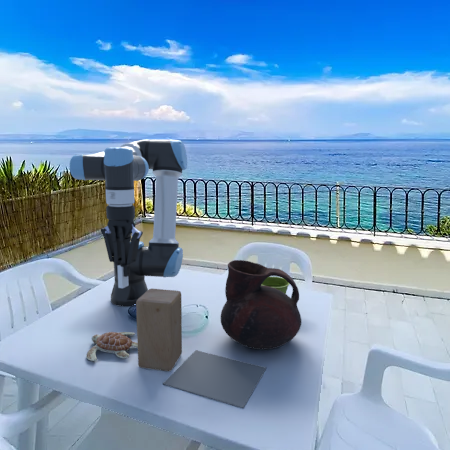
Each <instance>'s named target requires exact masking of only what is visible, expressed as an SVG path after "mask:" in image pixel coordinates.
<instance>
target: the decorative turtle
mask: <svg viewBox="0 0 450 450" xmlns="http://www.w3.org/2000/svg"><path fill="white" fill-rule="evenodd" d="M135 335H136V333H135V332H133V331H132V332H130V331H120V332H117V331H116V332H114V331H107V332H105V333H103V334H94V335H92V336H91V341H92V342H93V343H94V344H95V345H94V346H92V347H91V348H90V349H89V350H88V351H87V352H86V355H85V357H86V359H87V360H88V361H91V362H96V361H97V360H98V357H97V355H96V354H97V351H98V350H99V351H101V352H104V353H109V354H114V355H116V357H118V358H121V359H126V358H129V356H130V354H129V353H128V352H127V351H130V348H131V347H134V348H136V349H138V343H137V341H132V339H131V338H130V337H128V336H135Z"/></svg>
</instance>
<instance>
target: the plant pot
mask: <svg viewBox="0 0 450 450" xmlns="http://www.w3.org/2000/svg"><path fill="white" fill-rule="evenodd" d="M261 285H263V286H269V287H273V288H276V289H278V290H280V291H282V292H283V293H285V294H286V295H287V290H288V287H289V286H290V284H289V283H288V282H287V281H286V280H285V279H284V278H282V277H279V276H270V277H267V278H266V279H265V280H264V282H263V283H262V284H261Z"/></svg>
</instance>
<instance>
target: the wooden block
mask: <svg viewBox="0 0 450 450" xmlns="http://www.w3.org/2000/svg"><path fill="white" fill-rule="evenodd" d="M135 311H136V314H135V315H136V334H137V335H136V336H137V337H136V338H137V341H136V342H137V343H138V348H137V365H138V367H139V368H141V369H148V370H157V371H162V372H163V371H164V372H171V371H173V369H174V367H175V365H176V364H177V362H178V361H179V359H180V358H181V355H182V353H183V341H182V340H183V338H182V337H183V331H182V330H183V329H182V328H183V327H182V326H183V325H182V323H183V322H182V319H183V317H182V315H183V314H182V313H183V312H182V292H181V291H179V290H174V289H173V290H171V289H164V288H163V289H161V288H149V289H148V291H147V292H145V293H144V294H143V295H142V296H141V297H140V298H139V299H137V301H136V306H135Z"/></svg>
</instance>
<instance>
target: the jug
mask: <svg viewBox="0 0 450 450" xmlns="http://www.w3.org/2000/svg"><path fill="white" fill-rule="evenodd" d="M227 269H228V271H227V272H228V273H227V278H226V282H225V289H224V291H225V299H226V302H225V303H224V305H223V306H222V310H221V312H220V313H221V314H220V324H221V327H222V329H223V330H224V332H225V334H226V335H227V336H228V337H229V338H231V339H232V340H233V341H234V342H236V343H237V344H240V345H242V346H244V347H247V348H250V349H254V350H271V349H275V348H277V349H278V348H279V347H282V346H284V345H286V344H287V343H289V342H291V341H292V340H293V339H294V338H295V337H296V336H297V335H298V333H299V331H300V329H301V327H302V326H301V325H302V316H301V312H300V309H299V307H298V302H299V300H300V291H299V288H298V286H297V284H296V282H295V280H294V279H293V278H292V277H291V275H289V274H288V273H287V272H285V271H284V270H282V269H280V268H275V267H274V268H272V267H267V266H264V265H262V264H259V263H257V262H253V261H248V260H244V259H243V260H242V259H234V260H231V261H230V262H228V263H227ZM267 277H281V278H284V279H285V280H286V281H287V282H288V283H289V286H291V288H292V293H291V296H289V295H288V294H287V293H286V294H285V293H283V292H282V291H280V290H278V289H276V288H273V287H269V286H263V285H261V284H262V283H263V282H264V280H265V279H266V278H267Z"/></svg>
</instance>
